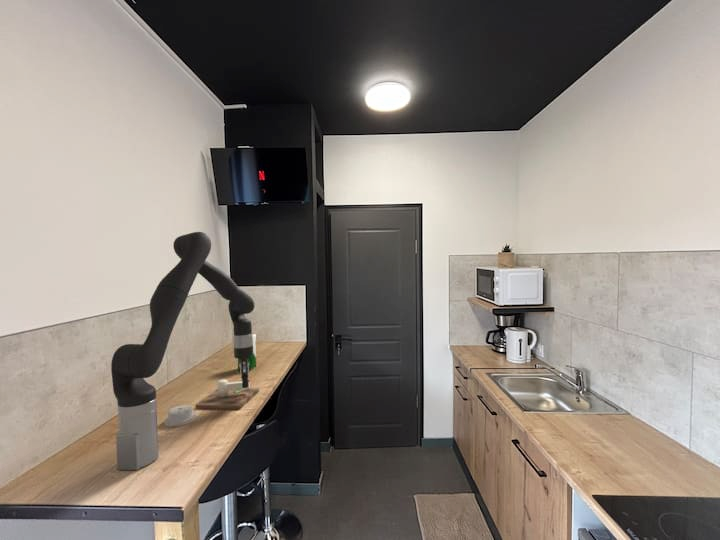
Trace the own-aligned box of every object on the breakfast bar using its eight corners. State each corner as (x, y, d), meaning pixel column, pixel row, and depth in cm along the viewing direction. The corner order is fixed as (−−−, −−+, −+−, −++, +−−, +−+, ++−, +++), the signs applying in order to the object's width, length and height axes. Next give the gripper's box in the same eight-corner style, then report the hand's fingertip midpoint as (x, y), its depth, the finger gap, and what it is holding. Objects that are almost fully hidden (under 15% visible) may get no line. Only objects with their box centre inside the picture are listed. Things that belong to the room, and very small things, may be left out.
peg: (249, 394, 141) (248, 380, 141) (216, 397, 139) (216, 383, 138) (250, 391, 145) (250, 377, 145) (219, 394, 143) (218, 379, 142)
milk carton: (258, 366, 186) (257, 330, 186) (250, 371, 177) (249, 333, 177) (243, 366, 188) (242, 330, 187) (235, 371, 179) (233, 333, 178)
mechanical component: (157, 426, 119) (182, 428, 117) (157, 413, 119) (182, 415, 117) (178, 414, 129) (201, 415, 127) (177, 402, 129) (201, 403, 127)
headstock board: (240, 409, 131) (240, 404, 131) (195, 408, 133) (195, 404, 133) (258, 391, 149) (258, 387, 149) (219, 391, 151) (219, 387, 151)
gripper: (253, 347, 135) (255, 391, 135) (252, 341, 147) (254, 381, 148) (233, 349, 133) (235, 394, 133) (234, 343, 145) (236, 383, 145)
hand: (245, 387), depth 140 cm, fingers closed
